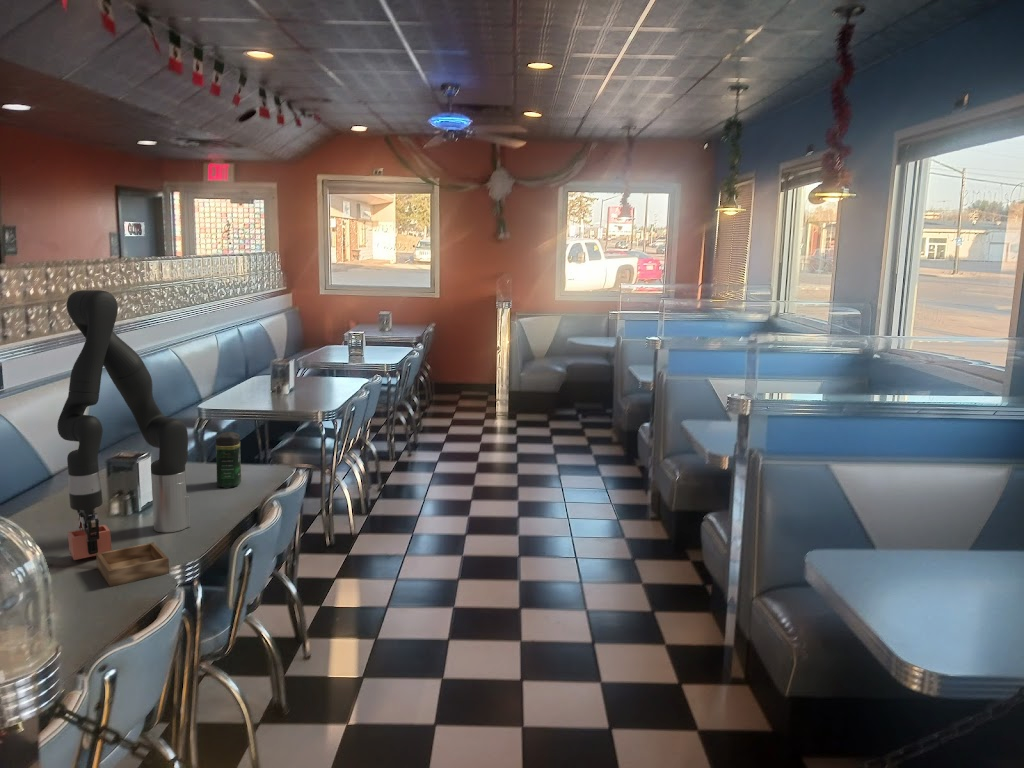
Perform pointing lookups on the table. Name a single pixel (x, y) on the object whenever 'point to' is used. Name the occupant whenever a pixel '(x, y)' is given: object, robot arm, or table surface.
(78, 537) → the red open box
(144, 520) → the table surface
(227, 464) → the coffee jar
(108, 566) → the wooden crate
